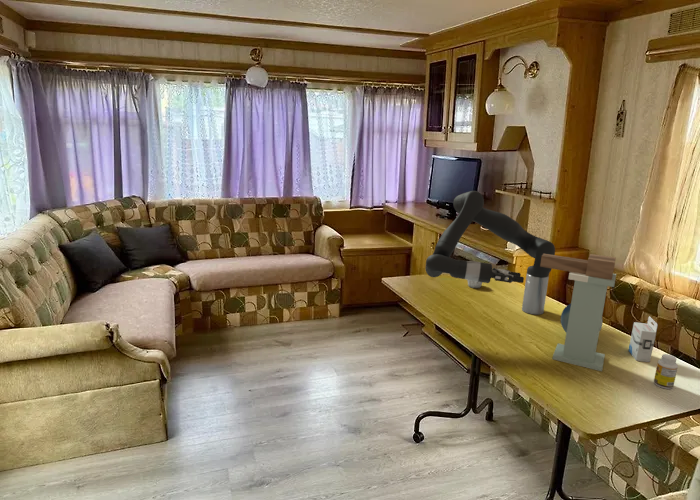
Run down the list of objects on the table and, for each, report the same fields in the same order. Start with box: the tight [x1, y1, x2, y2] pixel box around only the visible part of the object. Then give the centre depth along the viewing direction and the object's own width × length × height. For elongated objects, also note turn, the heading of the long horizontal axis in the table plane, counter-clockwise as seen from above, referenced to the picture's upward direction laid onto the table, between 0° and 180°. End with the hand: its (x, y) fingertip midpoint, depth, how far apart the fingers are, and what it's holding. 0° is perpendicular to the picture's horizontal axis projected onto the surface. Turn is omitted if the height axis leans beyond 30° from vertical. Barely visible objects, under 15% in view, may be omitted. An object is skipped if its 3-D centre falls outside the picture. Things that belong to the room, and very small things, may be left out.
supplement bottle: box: [653, 353, 679, 390], centre depth 160 cm, size 6×6×10 cm
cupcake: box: [466, 280, 483, 289], centre depth 252 cm, size 9×9×10 cm
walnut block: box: [540, 253, 617, 280], centre depth 171 cm, size 8×23×6 cm, turn 60°
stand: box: [552, 271, 617, 372], centre depth 174 cm, size 12×16×32 cm
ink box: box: [628, 316, 658, 363], centre depth 179 cm, size 9×5×15 cm, turn 168°
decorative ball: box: [560, 303, 603, 333], centre depth 194 cm, size 15×15×15 cm
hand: (521, 277), depth 185 cm, fingers open, 8 cm apart
